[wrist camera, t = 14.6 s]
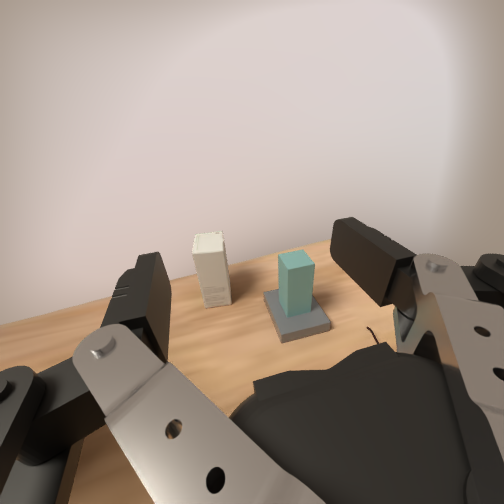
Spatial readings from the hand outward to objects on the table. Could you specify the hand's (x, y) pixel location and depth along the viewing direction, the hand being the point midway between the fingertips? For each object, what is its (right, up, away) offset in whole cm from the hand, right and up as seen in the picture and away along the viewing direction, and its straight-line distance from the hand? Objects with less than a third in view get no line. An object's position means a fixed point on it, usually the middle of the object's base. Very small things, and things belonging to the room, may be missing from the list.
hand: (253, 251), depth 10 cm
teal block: (+9, -11, +37) cm, 40 cm away
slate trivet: (+9, -13, +39) cm, 42 cm away
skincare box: (-8, -11, +46) cm, 48 cm away
